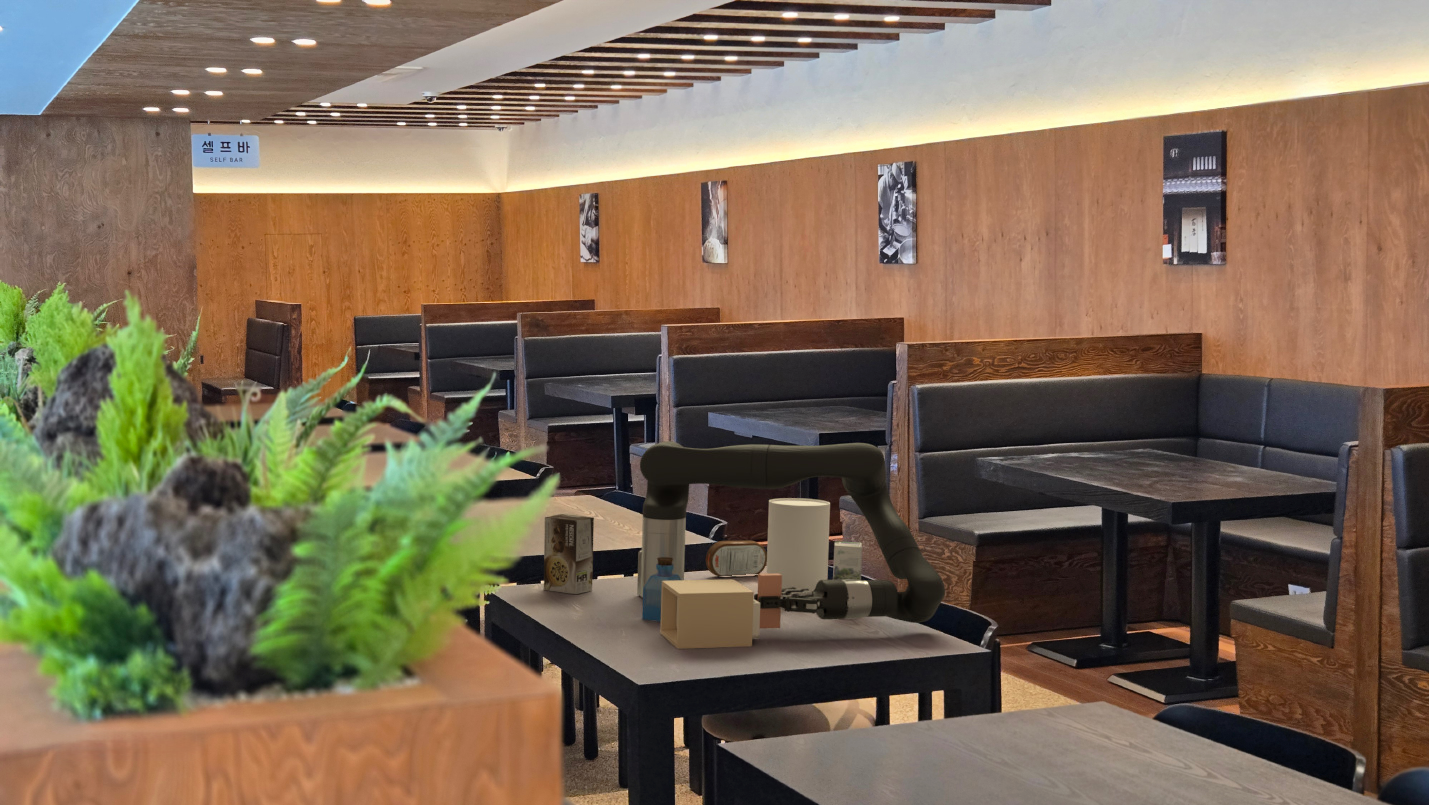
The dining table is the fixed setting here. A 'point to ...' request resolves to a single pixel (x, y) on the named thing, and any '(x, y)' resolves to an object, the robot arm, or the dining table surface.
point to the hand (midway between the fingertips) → (757, 601)
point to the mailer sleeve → (707, 613)
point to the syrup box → (847, 560)
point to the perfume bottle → (657, 589)
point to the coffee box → (568, 553)
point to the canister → (798, 541)
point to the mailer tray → (761, 617)
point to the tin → (736, 558)
